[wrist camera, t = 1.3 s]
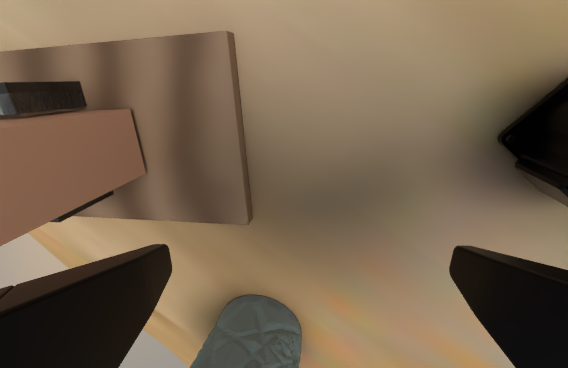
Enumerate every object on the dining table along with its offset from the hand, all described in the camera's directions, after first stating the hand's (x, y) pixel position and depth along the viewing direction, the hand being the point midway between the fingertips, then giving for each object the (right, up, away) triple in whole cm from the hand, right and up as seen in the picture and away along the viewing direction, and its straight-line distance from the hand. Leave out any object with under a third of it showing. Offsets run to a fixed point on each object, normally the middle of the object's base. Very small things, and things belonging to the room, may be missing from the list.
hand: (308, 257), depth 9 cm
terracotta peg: (-15, +6, +13) cm, 20 cm away
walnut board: (-14, +6, +14) cm, 20 cm away
